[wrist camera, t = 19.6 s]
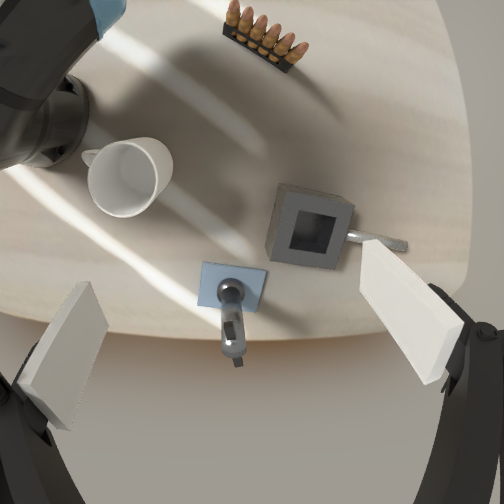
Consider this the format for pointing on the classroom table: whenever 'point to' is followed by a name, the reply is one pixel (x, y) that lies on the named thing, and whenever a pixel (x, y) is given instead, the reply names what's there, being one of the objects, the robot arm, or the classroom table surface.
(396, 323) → the robot arm
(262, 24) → the ammunition clip
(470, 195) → the classroom table surface
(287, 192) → the block
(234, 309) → the key
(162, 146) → the mug
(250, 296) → the mat
